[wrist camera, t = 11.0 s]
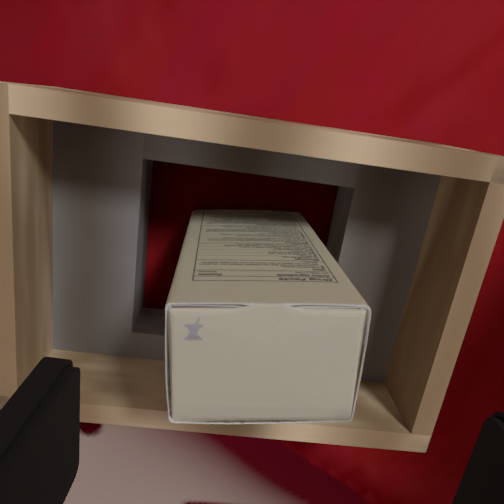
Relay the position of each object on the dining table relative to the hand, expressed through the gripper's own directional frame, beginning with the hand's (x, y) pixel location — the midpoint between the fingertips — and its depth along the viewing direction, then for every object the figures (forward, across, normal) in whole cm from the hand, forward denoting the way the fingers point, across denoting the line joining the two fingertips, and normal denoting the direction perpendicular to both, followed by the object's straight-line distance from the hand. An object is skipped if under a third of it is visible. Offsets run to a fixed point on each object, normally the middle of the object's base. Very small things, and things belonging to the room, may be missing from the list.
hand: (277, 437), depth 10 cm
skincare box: (+16, +1, +1) cm, 16 cm away
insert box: (+15, +1, +1) cm, 15 cm away
